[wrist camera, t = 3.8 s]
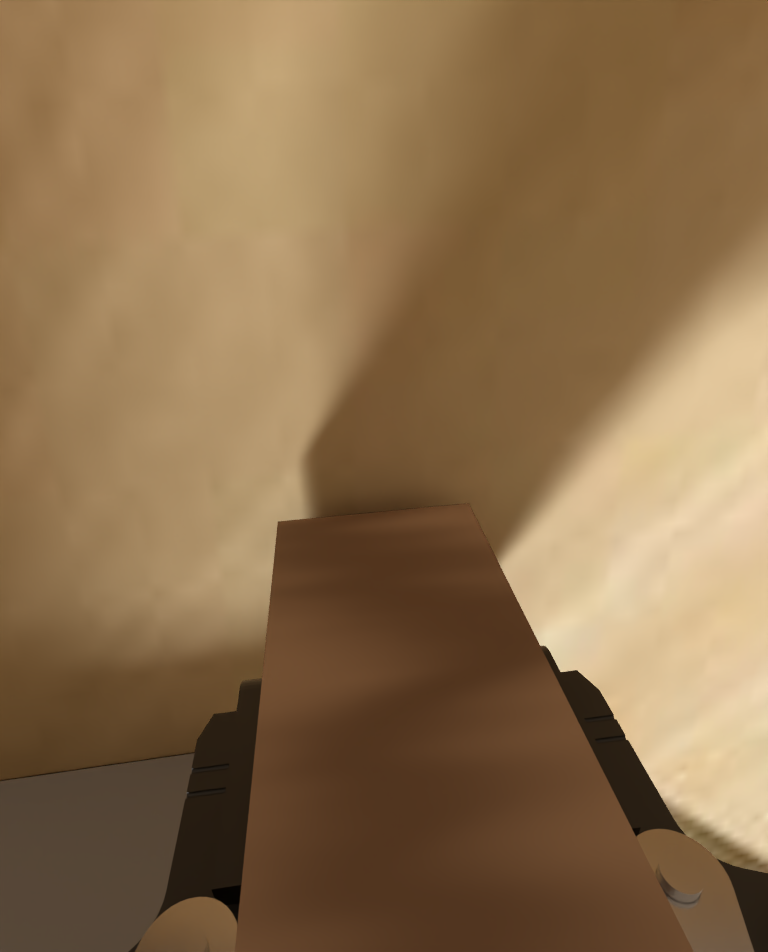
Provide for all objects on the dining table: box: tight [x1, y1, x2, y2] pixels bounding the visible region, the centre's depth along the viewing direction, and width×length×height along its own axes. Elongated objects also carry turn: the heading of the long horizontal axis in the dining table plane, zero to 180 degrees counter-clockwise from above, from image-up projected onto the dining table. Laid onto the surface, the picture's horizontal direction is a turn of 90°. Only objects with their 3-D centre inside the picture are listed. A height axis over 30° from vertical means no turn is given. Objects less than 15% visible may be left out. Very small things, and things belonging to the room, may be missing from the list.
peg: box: [235, 503, 694, 952], centre depth 10 cm, size 4×4×10 cm
